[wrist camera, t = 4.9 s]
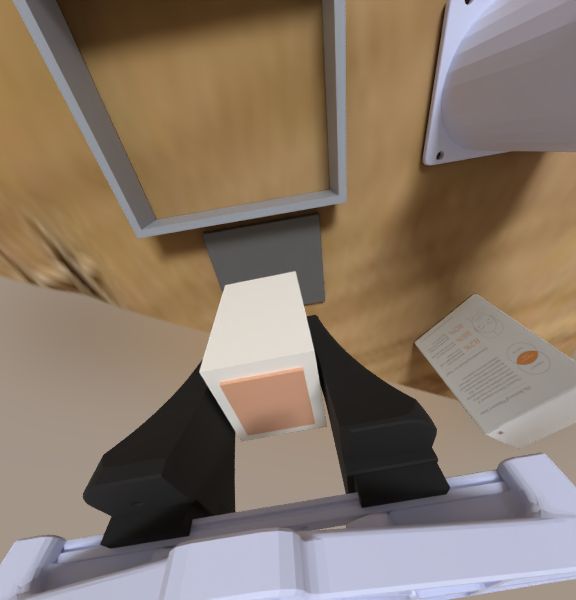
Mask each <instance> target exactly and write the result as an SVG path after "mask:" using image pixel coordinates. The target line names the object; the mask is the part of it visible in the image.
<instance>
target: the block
mask: <svg viewBox="0 0 576 600" xmlns="http://www.w3.org/2000/svg"><path fill="white" fill-rule="evenodd" d="M199 373H200V374H201V376H202V378H203V379H204V381H205V382H206V384H207V386H208V387H209V389H210V391H211V392H212V394H213V396H214V397H215V399H216V400H217V402H218V404H219V405H220V407H221V409H222V410H223V412H224V414H225V415H226V417H227V419H228V420H229V422H230V423H231V425H232V427H233V428H234V430H235V432H236V433H237V435H238V437H239V438H240V440H241V441H248V440H253V439H259V438H265V437H270V436H276V435H281V434H287V433H293V432H299V431H304V430H310V429H316V428H322V427H327V423H326V417H325V412H324V405H323V399H322V394H321V388H320V381H319V375H318V369H317V363H316V357H315V351H314V347H313V343H312V339H311V334H310V330H309V326H308V322H307V317H306V313H305V309H304V305H303V300H302V296H301V292H300V288H299V284H298V279H297V275H296V271H294V272H289V273H284V274H279V275H274V276H269V277H264V278H259V279H254V280H249V281H244V282H239V283H234V284H229V285H225V287H224V291H223V294H222V297H221V301H220V304H219V308H218V311H217V314H216V318H215V321H214V324H213V328H212V331H211V334H210V338H209V341H208V345H207V348H206V351H205V355H204V358H203V361H202V364H201V368H200V371H199Z"/></svg>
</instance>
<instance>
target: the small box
mask: <svg viewBox="0 0 576 600" xmlns="http://www.w3.org/2000/svg"><path fill="white" fill-rule="evenodd" d="M415 345H416V346H417V348H418V349H419V350H420V351H421V353H422V354H423V355H424V356H425V358H426V359H427V360H428V362H429V363H430V364H431V366H432V367H433V368H434V369H435V371H436V372H437V373H438V374H439V376H440V377H441V378H442V380H443V381H444V382H445V384H446V385H447V386H448V388H449V389H450V390H451V391H452V393H453V394H454V395H455V397H456V398H457V399H458V401H459V402H460V403H461V405H462V406H463V407H464V408H465V410H466V411H467V412H468V413H469V415H470V416H471V418H472V419H473V420H474V421H475V423H476V424H477V425H478V427H479V428H480V429H481V430H482V431H483V433H484V434H486V435H488V436H490V437H492V438H494V439H497V440H499V441H501V442H503V443H506V444H508V445H510V446H513V447H515V448H517V449H520V448H522V447H524V446H526V445H528V444H530V443H533V442H534V441H537V440H539V439H541V438H543V437H545V436H548V435H550V434H552V433H554V432H556V431H558V430H561V429H563V428H565V427H567V426H569V425H571V424H574V423H576V361H574V360H573V359H571V358H570V357H568V356H567V355H565V354H564V353H562V352H561V351H560V350H558V349H557V348H555V347H554V346H552V345H551V344H549V343H548V342H546V341H545V340H543V339H542V338H540V337H539V336H538V335H536V334H535V333H533V332H532V331H530V330H529V329H527V328H526V327H524V326H523V325H522V324H520V323H519V322H517V321H516V320H514V319H513V318H511V317H510V316H508V315H507V314H505V313H504V312H502V311H501V310H499V309H498V308H496V307H495V306H494V305H492V304H491V303H489V302H488V301H486V300H485V299H483V298H482V297H480V296H479V295H477V294H473V295H472V296H471V297H469V298H468V299H467V300H466V301H465V302H463V303H462V304H461V305H460V306H458V307H457V308H456V309H455V310H453V311H452V312H451V313H450V314H448V315H447V316H446V317H445V318H444V319H442V320H441V321H440V322H439V323H437V324H436V325H435V326H434V327H432V328H431V329H430V330H429V331H428V332H426V333H425V334H424V335H423V336H421V337H420V338H419V339H418V340H416V341H415Z"/></svg>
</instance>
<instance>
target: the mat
mask: <svg viewBox="0 0 576 600" xmlns="http://www.w3.org/2000/svg"><path fill="white" fill-rule="evenodd" d="M202 237H203V240H204V243H205V245H206V248H207V251H208V254H209V256H210V259H211V262H212V265H213V267H214V270H215V273H216V276H217V278H218V281H219V284H220V287H221V289H222V292H223V291H224V287H225V285H229V284H234V283H239V282H244V281H249V280H254V279H259V278H264V277H269V276H274V275H279V274H284V273H289V272H294V271H296V275H297V279H298V284H299V288H300V292H301V296H302V300H303V305H306V304H312V303H318V302H324V301H325V291H324V277H323V263H322V248H321V234H320V220H319V214H318V213H314V214H309V215H303V216H297V217H291V218H285V219H280V220H274V221H268V222H262V223H257V224H251V225H245V226H239V227H234V228H228V229H222V230H216V231H211V232H205V233H203V234H202Z"/></svg>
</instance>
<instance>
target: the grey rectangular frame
mask: <svg viewBox="0 0 576 600" xmlns="http://www.w3.org/2000/svg"><path fill="white" fill-rule="evenodd" d="M13 2H14V4H15V6H16V8H17V10H18V12H19V13H20V15H21V17H22V19H23V21H24V23H25V25H26V27H27V29H28V31H29V33H30V34H31V36H32V38H33V40H34V42H35V44H36V46H37V48H38V50H39V52H40V53H41V55H42V57H43V59H44V61H45V63H46V65H47V67H48V69H49V71H50V73H51V74H52V76H53V78H54V80H55V82H56V84H57V86H58V88H59V90H60V92H61V93H62V95H63V97H64V99H65V101H66V103H67V105H68V107H69V109H70V111H71V113H72V114H73V116H74V118H75V120H76V122H77V124H78V126H79V128H80V130H81V132H82V133H83V135H84V137H85V139H86V141H87V143H88V145H89V147H90V149H91V151H92V153H93V154H94V156H95V158H96V160H97V162H98V164H99V166H100V168H101V170H102V172H103V173H104V175H105V177H106V179H107V181H108V183H109V185H110V187H111V189H112V191H113V193H114V194H115V196H116V198H117V200H118V202H119V204H120V206H121V208H122V210H123V212H124V213H125V215H126V217H127V219H128V221H129V223H130V225H131V227H132V229H133V231H134V233H135V234H136V236H137V238H144V237H150V236H155V235H161V234H167V233H173V232H178V231H184V230H190V229H196V228H201V227H207V226H213V225H219V224H224V223H230V222H236V221H242V220H247V219H253V218H259V217H265V216H270V215H276V214H282V213H288V212H293V211H299V210H305V209H311V208H316V207H322V206H328V205H334V204H339V203H345V202H347V200H346V27H345V0H322V16H323V40H324V63H325V87H326V110H327V134H328V157H329V181H330V190H324V191H318V192H313V193H307V194H301V195H295V196H290V197H284V198H278V199H273V200H267V201H261V202H255V203H250V204H244V205H238V206H233V207H227V208H221V209H215V210H210V211H204V212H198V213H193V214H187V215H181V216H175V217H170V218H164V219H158V220H156V218H155V216H154V213H153V211H152V209H151V207H150V205H149V202H148V200H147V198H146V196H145V194H144V192H143V189H142V187H141V185H140V183H139V181H138V178H137V176H136V174H135V172H134V170H133V167H132V165H131V163H130V161H129V159H128V157H127V154H126V152H125V150H124V148H123V146H122V143H121V141H120V139H119V137H118V135H117V132H116V130H115V128H114V126H113V124H112V122H111V119H110V117H109V115H108V113H107V111H106V108H105V106H104V104H103V102H102V100H101V97H100V95H99V93H98V91H97V89H96V87H95V84H94V82H93V80H92V78H91V76H90V73H89V71H88V69H87V67H86V65H85V62H84V60H83V58H82V56H81V54H80V52H79V49H78V47H77V45H76V43H75V41H74V38H73V36H72V34H71V32H70V30H69V27H68V25H67V23H66V21H65V19H64V17H63V14H62V12H61V10H60V8H59V6H58V3H57V1H56V0H13Z"/></svg>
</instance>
